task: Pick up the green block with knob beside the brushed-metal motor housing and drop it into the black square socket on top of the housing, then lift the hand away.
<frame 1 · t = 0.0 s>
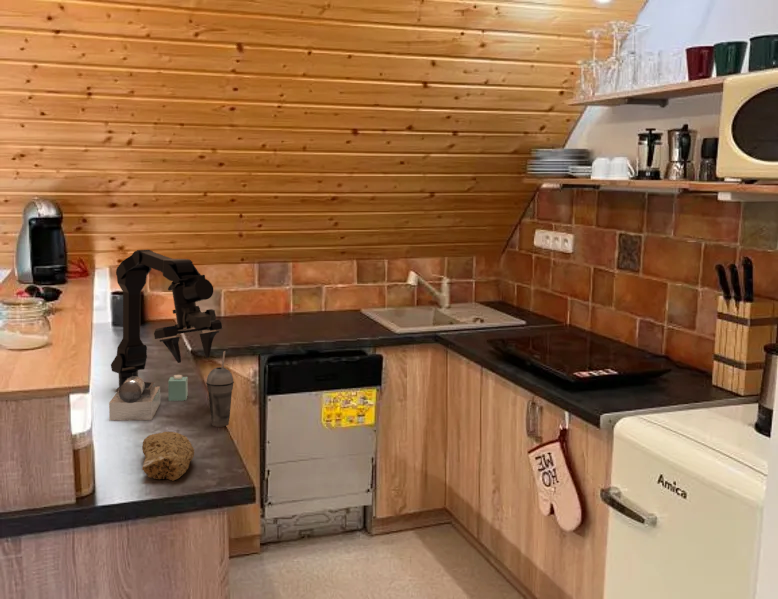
hand: (193, 360, 211), 15 cm above the worktop, tool pointing down, fingers open, 9 cm apart
motor housing: (135, 411, 214), on the worktop
green block with knob: (178, 398, 229), on the worktop
beverage cup: (220, 424, 205), on the worktop
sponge: (166, 467, 174), on the worktop
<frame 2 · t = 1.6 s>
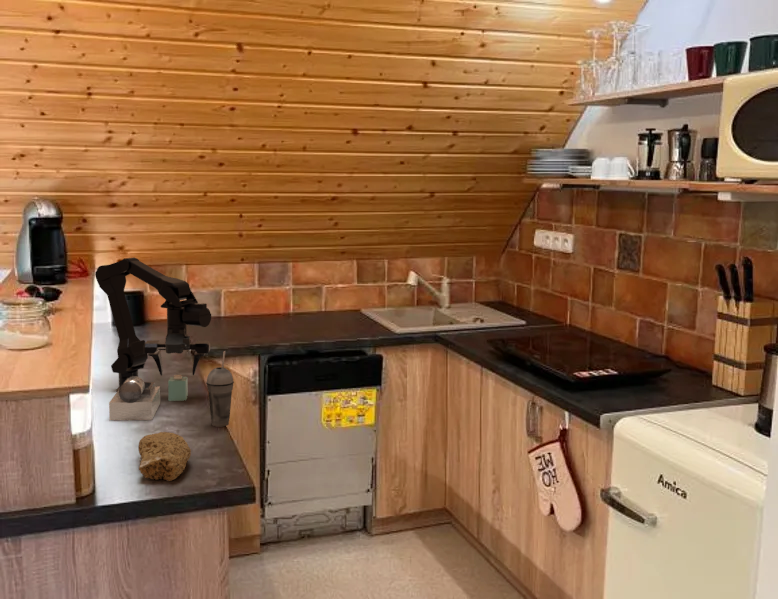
hand: (177, 375, 228), 7 cm above the worktop, tool pointing down, fingers open, 9 cm apart
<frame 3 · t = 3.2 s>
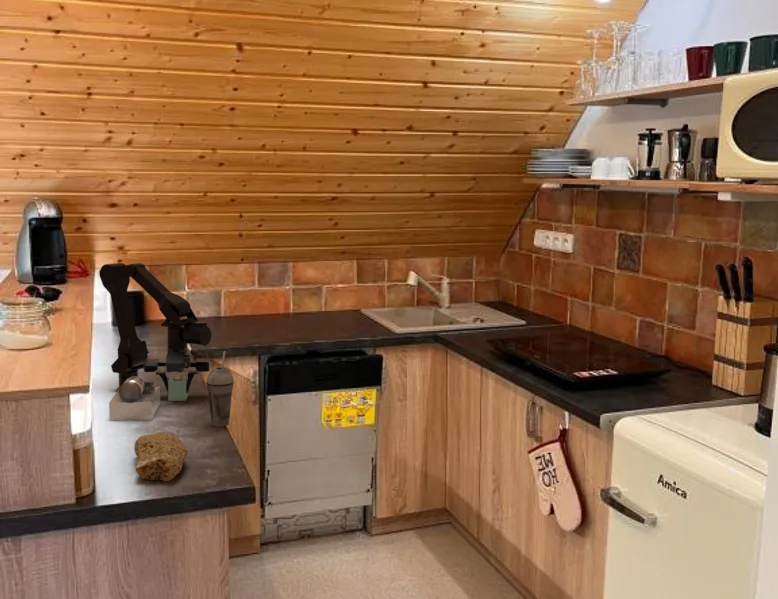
hand: (178, 393, 228), 2 cm above the worktop, tool pointing down, fingers closed on green block with knob, 5 cm apart
green block with knob: (178, 398, 229), on the worktop, touching gripper
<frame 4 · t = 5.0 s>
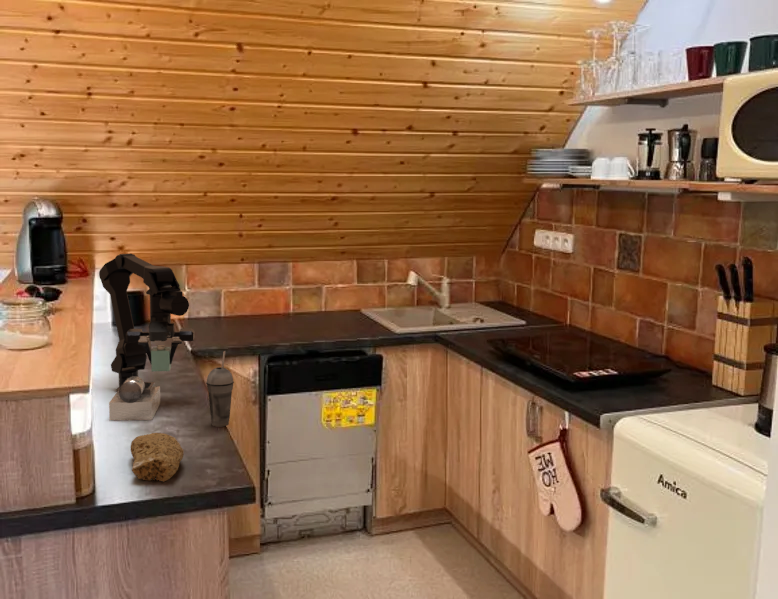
hand: (161, 364, 222), 11 cm above the worktop, tool pointing down, fingers closed on green block with knob, 5 cm apart
green block with knob: (161, 369, 222), point 10 cm above the worktop, touching gripper
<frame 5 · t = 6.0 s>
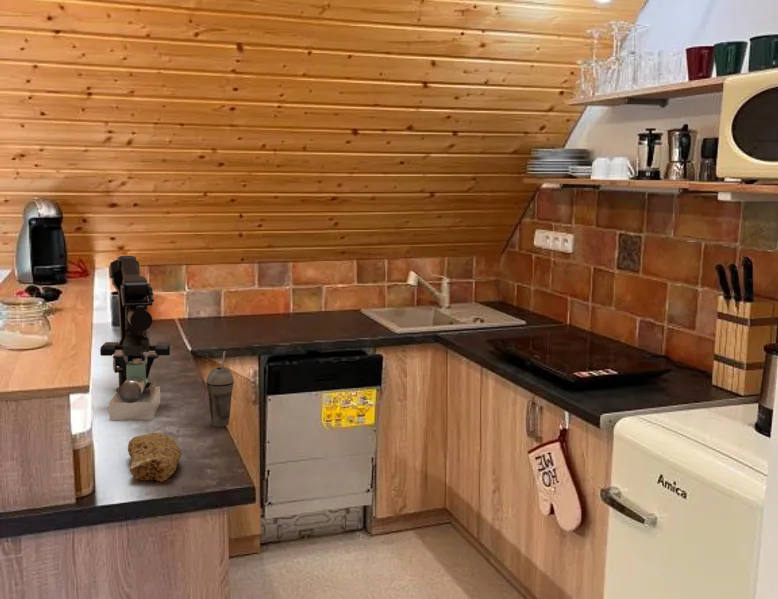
hand: (137, 378, 217), 9 cm above the worktop, tool pointing down, fingers closed on green block with knob, 5 cm apart
green block with knob: (137, 383, 217), point 7 cm above the worktop, touching gripper
when the fingers open (7 cm above the worktop, at t = 7.0 s): green block with knob stays where it is, resting on motor housing.
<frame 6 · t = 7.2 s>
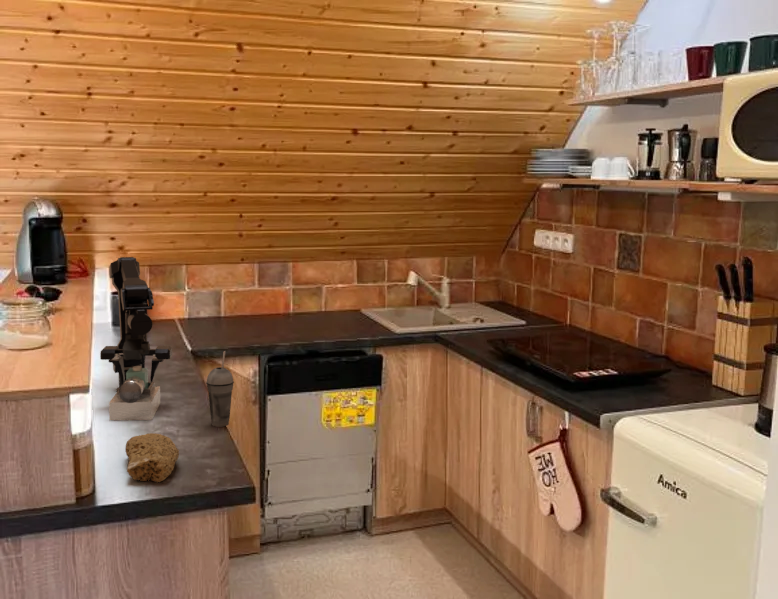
hand: (137, 382, 217), 7 cm above the worktop, tool pointing down, fingers open, 7 cm apart
green block with knob: (137, 390, 217), point 5 cm above the worktop, touching motor housing
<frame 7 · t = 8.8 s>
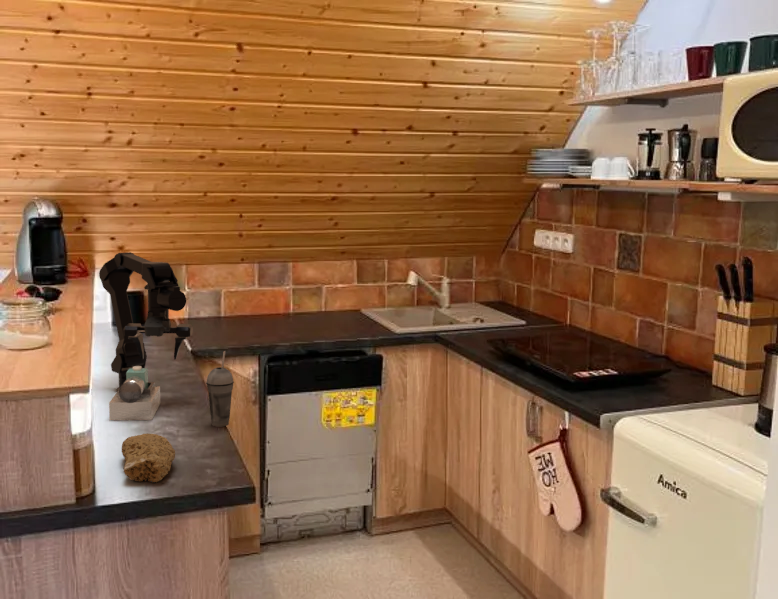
hand: (158, 359, 222), 13 cm above the worktop, tool pointing down, fingers open, 9 cm apart
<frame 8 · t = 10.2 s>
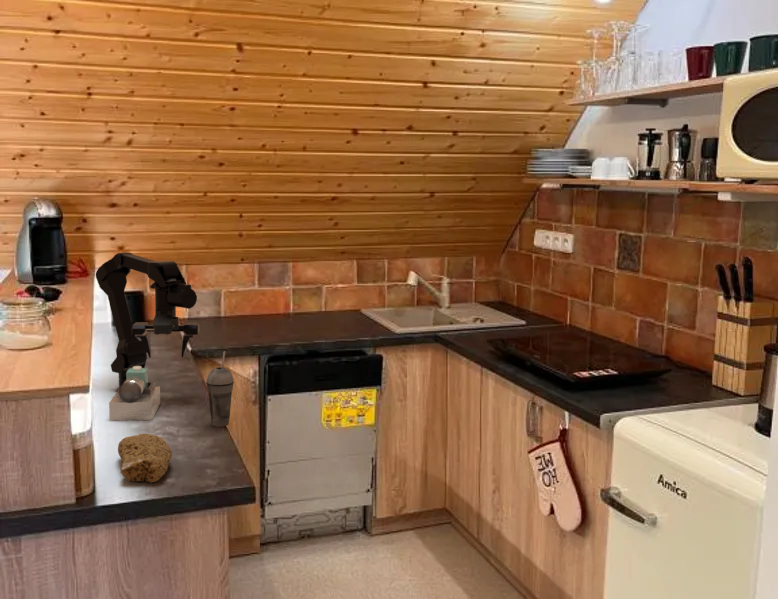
hand: (166, 357, 224), 13 cm above the worktop, tool pointing down, fingers open, 9 cm apart
at the end: green block with knob 0.0 cm from the target spot on the motor housing, point 5.0 cm above the motor housing's base; green block with knob tilted 0°; the gripper is holding nothing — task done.
